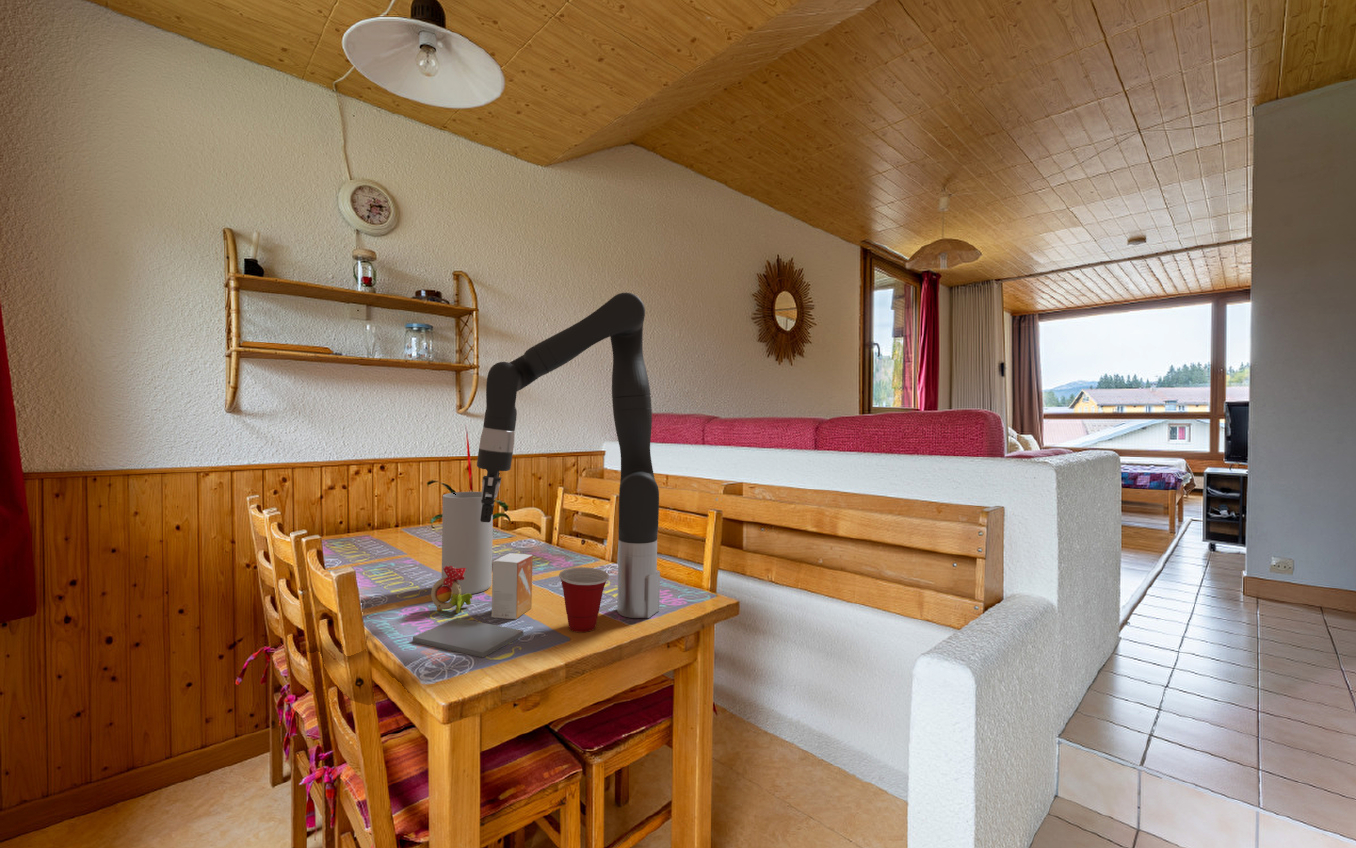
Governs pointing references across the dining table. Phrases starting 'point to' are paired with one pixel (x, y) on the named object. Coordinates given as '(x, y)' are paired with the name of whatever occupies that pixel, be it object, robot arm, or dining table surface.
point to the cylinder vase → (467, 541)
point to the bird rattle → (450, 590)
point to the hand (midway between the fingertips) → (486, 518)
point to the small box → (512, 585)
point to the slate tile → (468, 637)
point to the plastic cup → (583, 596)
